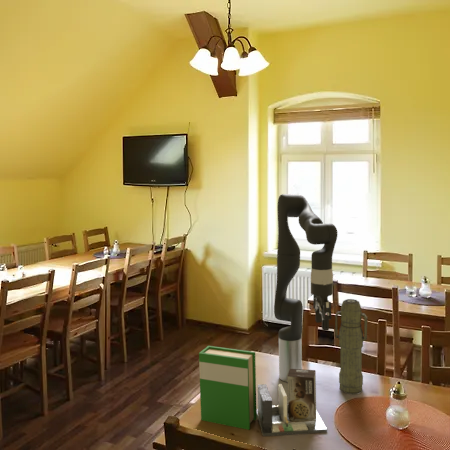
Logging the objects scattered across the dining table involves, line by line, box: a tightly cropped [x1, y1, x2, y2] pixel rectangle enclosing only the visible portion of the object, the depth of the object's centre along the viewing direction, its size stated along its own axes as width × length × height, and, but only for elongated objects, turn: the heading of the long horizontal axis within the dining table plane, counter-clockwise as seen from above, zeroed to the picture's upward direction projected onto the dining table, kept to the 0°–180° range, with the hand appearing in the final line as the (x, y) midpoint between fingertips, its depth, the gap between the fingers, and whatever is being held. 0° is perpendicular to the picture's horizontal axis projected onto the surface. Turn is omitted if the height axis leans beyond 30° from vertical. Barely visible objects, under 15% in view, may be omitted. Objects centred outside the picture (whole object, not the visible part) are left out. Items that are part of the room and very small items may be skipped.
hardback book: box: [198, 345, 258, 430], centre depth 165 cm, size 18×7×24 cm, turn 66°
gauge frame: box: [256, 383, 328, 437], centre depth 163 cm, size 16×21×11 cm
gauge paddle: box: [277, 383, 288, 427], centre depth 161 cm, size 12×1×10 cm, turn 4°
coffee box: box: [287, 368, 317, 422], centre depth 163 cm, size 9×6×16 cm
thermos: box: [334, 298, 368, 395], centre depth 185 cm, size 9×12×35 cm
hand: (322, 326), depth 169 cm, fingers open, 8 cm apart
